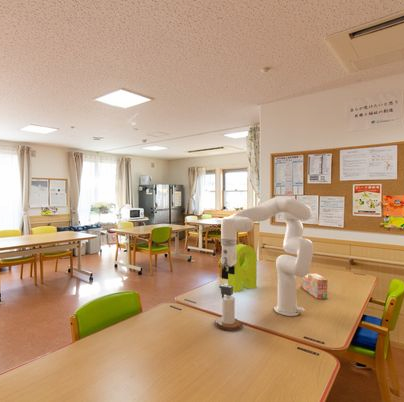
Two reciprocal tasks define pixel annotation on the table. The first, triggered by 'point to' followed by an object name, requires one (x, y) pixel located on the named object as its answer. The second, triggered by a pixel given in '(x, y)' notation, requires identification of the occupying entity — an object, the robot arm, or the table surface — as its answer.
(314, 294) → the pink patterned box
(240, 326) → the base
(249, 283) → the decorative object
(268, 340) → the table surface
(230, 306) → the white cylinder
